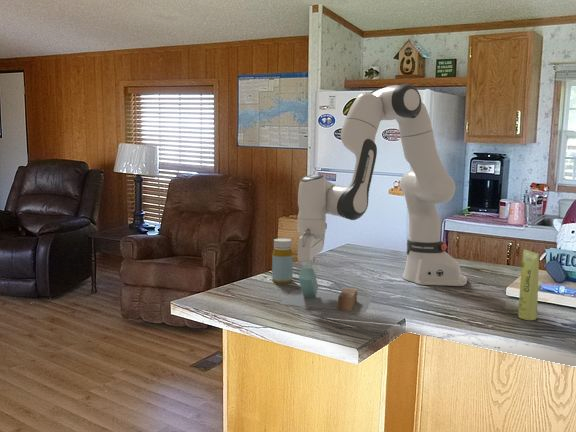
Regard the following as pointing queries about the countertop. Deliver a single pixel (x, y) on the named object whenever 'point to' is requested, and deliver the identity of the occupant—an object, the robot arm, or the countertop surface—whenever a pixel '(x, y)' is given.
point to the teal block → (308, 282)
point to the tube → (529, 286)
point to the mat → (323, 301)
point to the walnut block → (347, 299)
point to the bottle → (282, 261)
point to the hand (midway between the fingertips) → (310, 270)
